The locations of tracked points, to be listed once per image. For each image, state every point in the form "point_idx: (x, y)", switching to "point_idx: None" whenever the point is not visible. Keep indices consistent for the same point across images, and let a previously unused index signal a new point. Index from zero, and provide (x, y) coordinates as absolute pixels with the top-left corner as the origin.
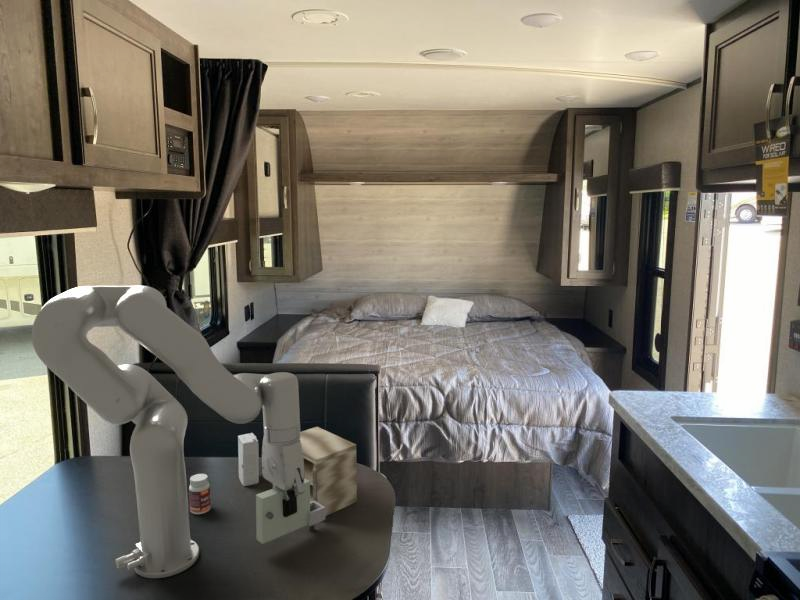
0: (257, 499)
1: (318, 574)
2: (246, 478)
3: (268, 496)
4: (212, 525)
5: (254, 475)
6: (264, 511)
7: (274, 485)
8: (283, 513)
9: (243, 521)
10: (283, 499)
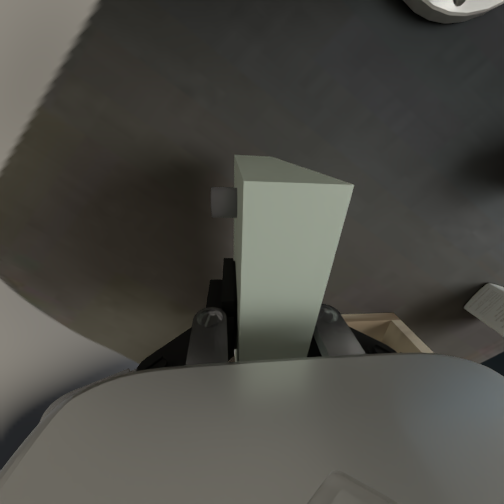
0: (314, 178)
1: (83, 215)
2: (501, 298)
3: (243, 247)
4: (461, 141)
5: (490, 314)
6: (238, 183)
7: (336, 341)
8: (231, 263)
9: (397, 210)
10: (232, 305)
